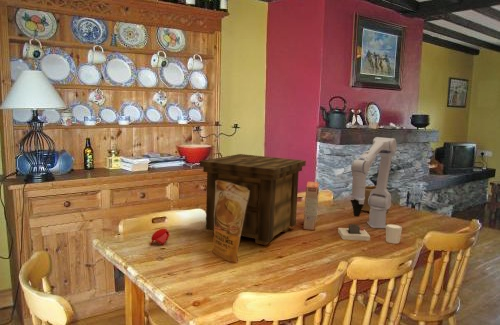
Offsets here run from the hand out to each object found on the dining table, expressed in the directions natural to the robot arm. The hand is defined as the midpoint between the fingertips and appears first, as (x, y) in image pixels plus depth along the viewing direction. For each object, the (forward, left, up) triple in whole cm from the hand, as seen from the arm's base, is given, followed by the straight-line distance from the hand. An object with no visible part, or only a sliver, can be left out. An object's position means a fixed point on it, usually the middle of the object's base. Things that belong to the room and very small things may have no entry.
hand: (356, 216), depth 181 cm
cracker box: (-13, -19, -10) cm, 25 cm away
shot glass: (+5, +15, -10) cm, 19 cm away
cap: (+21, -84, -10) cm, 87 cm away
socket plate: (0, -1, -9) cm, 9 cm away
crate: (0, -47, -10) cm, 48 cm away
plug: (0, -1, -9) cm, 9 cm away
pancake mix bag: (+31, -56, -10) cm, 65 cm away
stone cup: (-46, +20, -10) cm, 51 cm away
